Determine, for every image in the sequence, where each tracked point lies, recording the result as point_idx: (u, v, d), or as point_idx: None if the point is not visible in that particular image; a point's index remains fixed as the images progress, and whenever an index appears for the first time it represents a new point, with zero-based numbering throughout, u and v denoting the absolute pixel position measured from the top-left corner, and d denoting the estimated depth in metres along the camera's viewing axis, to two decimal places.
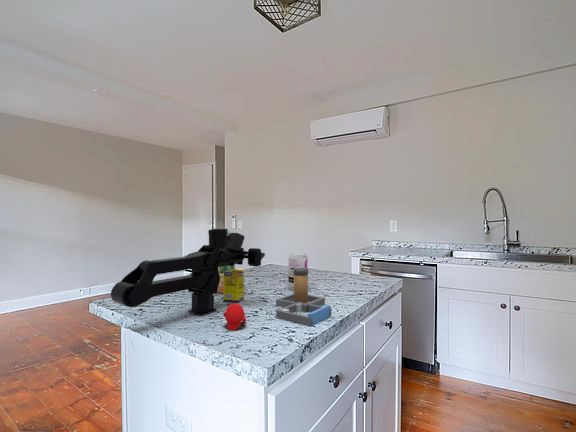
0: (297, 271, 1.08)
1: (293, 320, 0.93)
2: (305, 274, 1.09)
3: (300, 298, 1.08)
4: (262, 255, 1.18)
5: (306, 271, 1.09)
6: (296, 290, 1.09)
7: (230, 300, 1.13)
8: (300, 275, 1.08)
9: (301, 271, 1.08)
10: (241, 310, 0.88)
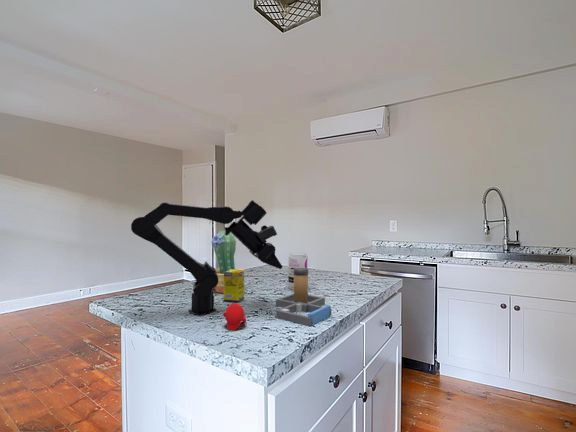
0: (297, 271, 1.08)
1: (293, 320, 0.93)
2: (305, 274, 1.09)
3: (300, 298, 1.08)
4: (277, 264, 1.03)
5: (306, 271, 1.09)
6: (296, 290, 1.09)
7: (230, 300, 1.13)
8: (300, 275, 1.08)
9: (301, 271, 1.08)
10: (241, 310, 0.88)
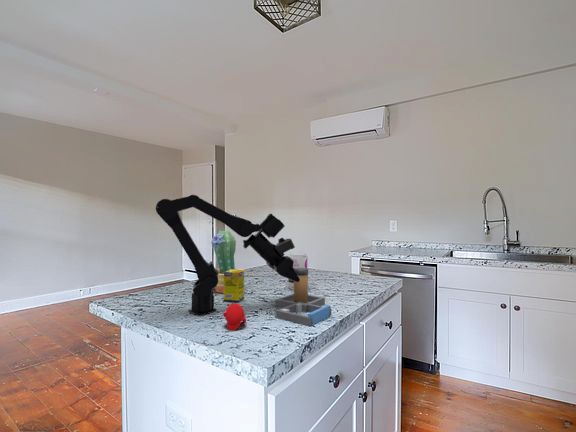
0: (297, 271, 1.08)
1: (293, 320, 0.93)
2: (305, 274, 1.09)
3: (300, 298, 1.08)
4: (295, 277, 1.05)
5: (306, 271, 1.09)
6: (296, 290, 1.09)
7: (230, 300, 1.13)
8: (300, 275, 1.08)
9: (301, 271, 1.08)
10: (241, 310, 0.88)
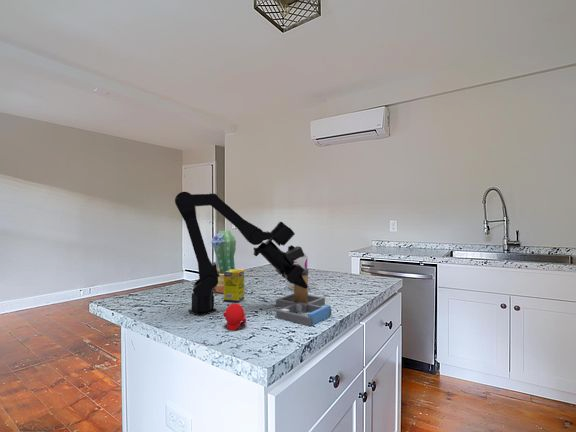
0: None
1: (293, 320, 0.93)
2: (305, 274, 1.09)
3: (300, 298, 1.08)
4: (303, 284, 1.07)
5: (306, 271, 1.09)
6: (296, 290, 1.09)
7: (230, 300, 1.13)
8: None
9: None
10: (241, 310, 0.88)
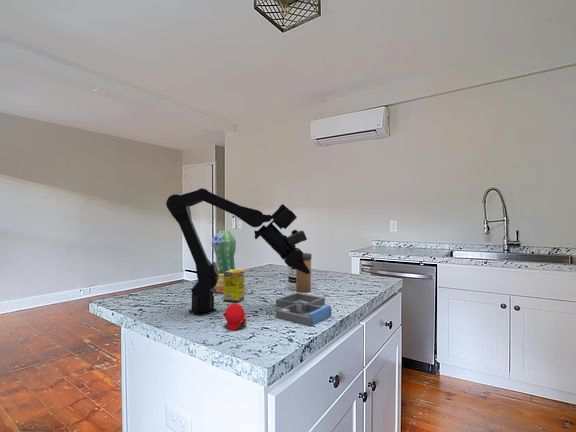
0: None
1: (293, 320, 0.93)
2: (307, 259, 1.04)
3: (302, 283, 1.04)
4: (305, 269, 1.03)
5: (308, 256, 1.04)
6: (298, 275, 1.05)
7: (230, 300, 1.13)
8: None
9: (303, 256, 1.04)
10: (241, 310, 0.88)
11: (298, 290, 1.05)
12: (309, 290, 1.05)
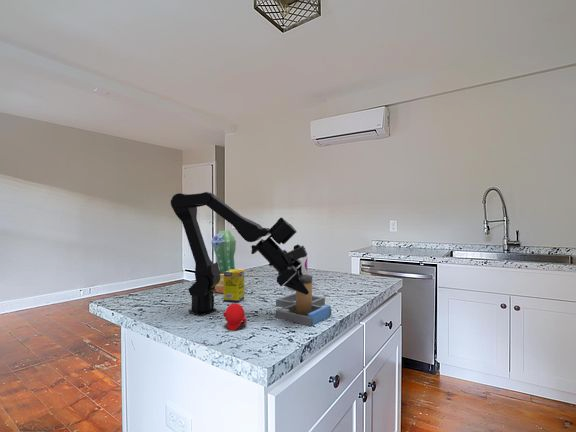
0: None
1: (293, 320, 0.93)
2: (306, 282, 0.95)
3: (300, 309, 0.96)
4: (302, 289, 0.94)
5: (307, 279, 0.96)
6: (297, 299, 0.97)
7: (230, 300, 1.13)
8: None
9: (301, 278, 0.95)
10: (241, 310, 0.88)
11: None
12: None
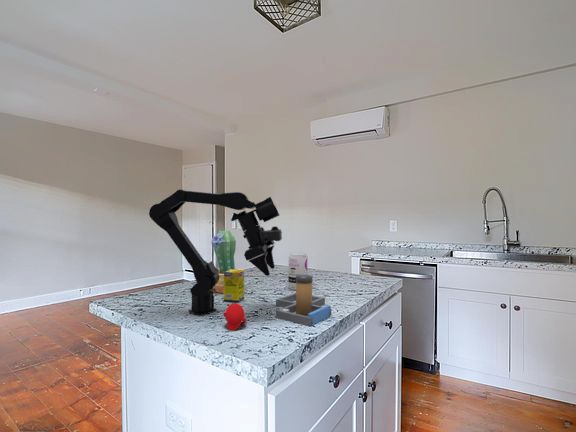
0: (297, 278, 0.96)
1: (293, 320, 0.93)
2: (306, 282, 0.95)
3: (300, 309, 0.96)
4: (264, 270, 0.97)
5: (308, 279, 0.95)
6: (297, 299, 0.97)
7: (230, 300, 1.13)
8: (300, 283, 0.96)
9: (301, 278, 0.95)
10: (241, 310, 0.88)
11: None
12: None
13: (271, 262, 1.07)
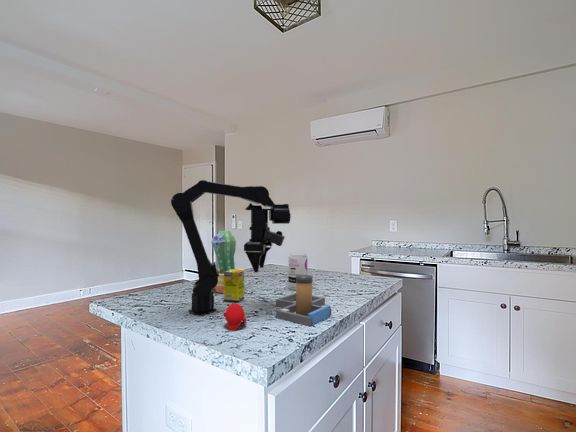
0: (297, 278, 0.96)
1: (293, 320, 0.93)
2: (306, 282, 0.95)
3: (300, 309, 0.96)
4: (255, 266, 1.01)
5: (308, 279, 0.96)
6: (297, 299, 0.97)
7: (230, 300, 1.13)
8: (300, 283, 0.96)
9: (301, 278, 0.95)
10: (241, 310, 0.88)
11: None
12: None
13: (262, 261, 1.11)
